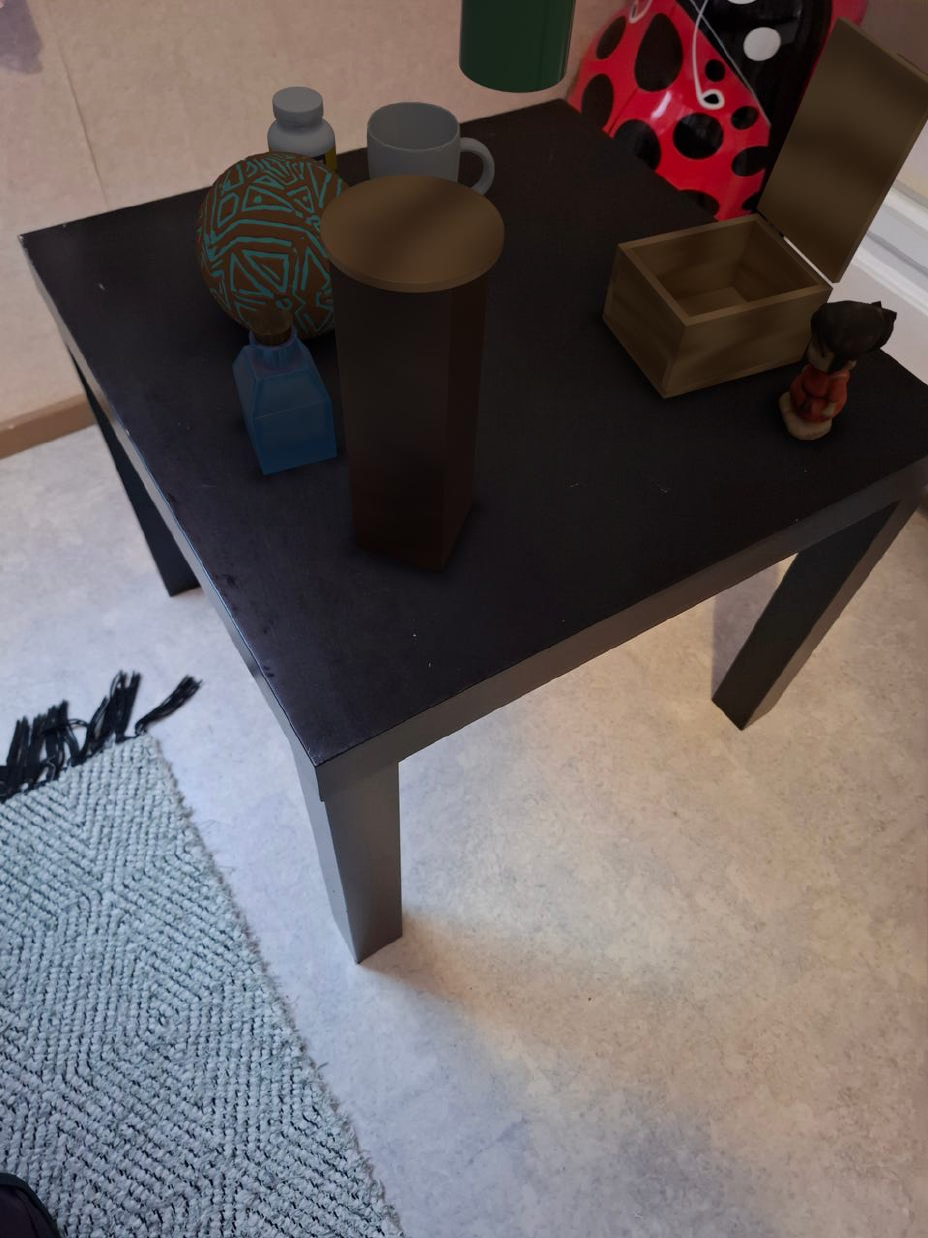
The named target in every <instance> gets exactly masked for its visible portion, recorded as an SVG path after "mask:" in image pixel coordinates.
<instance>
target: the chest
mask: <svg viewBox="0 0 928 1238" xmlns="http://www.w3.org/2000/svg"><path fill="white" fill-rule="evenodd" d="M615 249H616V250H615V255H614V260H613V264H612V269H611V273H610V280H609V282H608V288H607V292H606V298H605V301H604V302H605V303H604V306H603V312H602V318H601V319H602V321H603V322H604V323H605V324H606V326H607V327H608V329H609V330H610V331H611V333H612V334H613V335H614V336H615V338H616V339H617V340H618V342H619V343H620V344H621V345H622V347H623V348H624V349H625V351H626V352H627V353H628V355H629V356H630V357H631V358H632V360H633V361H634V362H635V364H636V365H637V367H638V368H639V369H640V370H641V372H642V373H643V374H644V376H645V377H646V378H647V380H648V381H649V382H650V383H651V385H652V386H653V387H654V389H655V390H656V391H657V393H658V394H659V395H660V397H662V399H663V400H666V399H669V398H672V397H676V396H680V395H684V394H688V393H690V392H695V391H697V390H701V389H705V388H708V387H711V386H715V385H719V384H723V383H727V382H730V381H733V380H737V379H741V378H745V377H748V376H752V375H756V374H759V373H763V372H765V371H770V370H774V369H778V368H781V367H784V366H787V365H790V364H795V363H799V362H801V360H802V358H803V356H804V354H805V352H806V350H807V349H808V348H807V347H808V346H809V344H810V342H811V340H812V338H813V336H812V333H811V322H810V320H811V318H812V315H813V313H815V312H816V311H817V310H818V309H819V308H820V306H821V305H822V304H823V303H829V302H828V301H829V299H830V297H831V295H832V293H833V291H834V287H833V286H832V285H831V284H830V283H829V282H828V281H827V280H826V279H825V278H824V277H823V276H822V274H820V273H819V272H818V271H816V269H814V267H813V266H812V265H811V264H810V262H809V263H808V261H807V260H806V259H805V257H803V256H802V255H801V254H800V253H799V252H798V251H797V250H796V249H795V248H794V247H792V245H791V244H789V243H788V241H787V240H785V238H784V237H783V236H782V235H780V233H779V232H778V231H776V229H775V228H774V227H773V226H772V225H770V224H769V223H768V222H767V220H765V219H764V218H763V216H762V215H760V214H759V212H755V213H752V214H746V215H742V216H737V217H733V218H730V219H729V218H727V219H724V220H719V221H717V222H716V221H715V222H711V223H707V224H702V225H698V226H697V225H696V226H693V227H688V228H684V229H680V230H675V231H671V232H666V233H662V234H657V235H653V236H649V237H643V238H639V239H636V240H635V239H634V240H630V241H626V242H621V243H618V244H617V245H616V248H615Z"/></svg>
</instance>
